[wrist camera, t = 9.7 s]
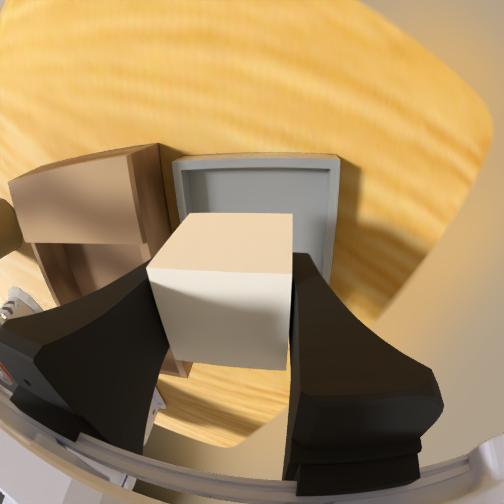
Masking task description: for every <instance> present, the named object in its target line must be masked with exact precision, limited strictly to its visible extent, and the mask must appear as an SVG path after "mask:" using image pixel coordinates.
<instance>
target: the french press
mask: <svg viewBox="0 0 504 504" xmlns="http://www.w3.org/2000/svg"><path fill="white" fill-rule="evenodd" d="M1 308H2V310H0V313H3V314H4V315H5V316H6V317H7V318H6V319H3V318H2V316H1V315H0V323H1V325H0V327H1V326H2V325H3V323H4V322H5V321H7V320H8V319H12V318H17V317H22V316H27V315H32V314H36V313H39V312H43V310H42V308H41V307H40V306H39V305H38V304H37V303H36V302H35V301H34V300H33V299H32V298H31V297H30V295H28V294H27V293H25V292H24V291H23V290H21V289H20V288H16V287H12V288H10V289H9V293H8V300H7V301H6V302H5V303H4V305H3V306H2V307H1ZM1 308H0V309H1ZM0 378H1V379H3V381H4V382H6V383H7V384H9V385H13V379H12V377H11V376H10V374H9V373H8V372H7V370H6V369H5V368H4V367H3V365H2V364H1V363H0Z"/></svg>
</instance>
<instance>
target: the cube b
mask: <svg viewBox="0 0 504 504" xmlns="http://www.w3.org/2000/svg"><path fill="white" fill-rule="evenodd" d="M292 235H293V214H281V213H190V214H189V215H188V216H187V217H186V218H185V219H184V221H183V222H182V223H181V224H180V226H179V227H178V228H177V229H176V230H175V232H174V233H173V234H172V235H171V237H170V238H169V239H168V240H167V241H166V243H165V244H164V245H163V246H162V248H161V249H160V250H159V252H158V253H157V254H156V255H155V257H154V258H153V259H152V261H151V262H150V263H149V264H148V266H147V267H146V270H147V273H148V277H149V281H150V284H151V288H152V291H153V295H154V298H155V301H156V305H157V308H158V311H159V314H160V317H161V321H162V324H163V327H164V330H165V333H166V336H167V339H168V341H169V344H170V347H171V350H172V353H173V356H174V358H175V359H176V360H182V361H189V362H196V363H204V364H212V365H220V366H230V367H240V368H253V369H267V370H286V364H287V351H288V337H289V321H290V304H291V285H292Z"/></svg>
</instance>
